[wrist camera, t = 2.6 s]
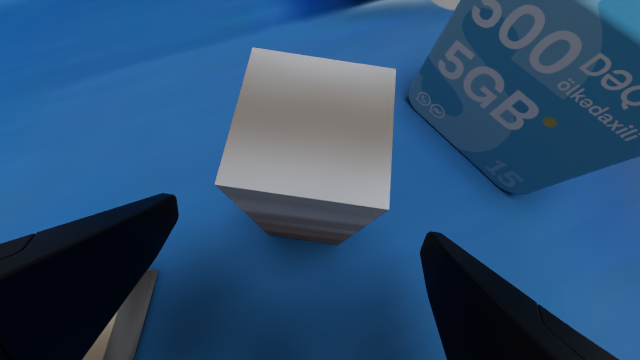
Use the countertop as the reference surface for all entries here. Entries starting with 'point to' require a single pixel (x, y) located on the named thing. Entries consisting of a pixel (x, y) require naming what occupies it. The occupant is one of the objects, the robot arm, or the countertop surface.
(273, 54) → the gray square block
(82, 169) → the countertop surface
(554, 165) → the data package
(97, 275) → the robot arm
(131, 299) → the beige square block
